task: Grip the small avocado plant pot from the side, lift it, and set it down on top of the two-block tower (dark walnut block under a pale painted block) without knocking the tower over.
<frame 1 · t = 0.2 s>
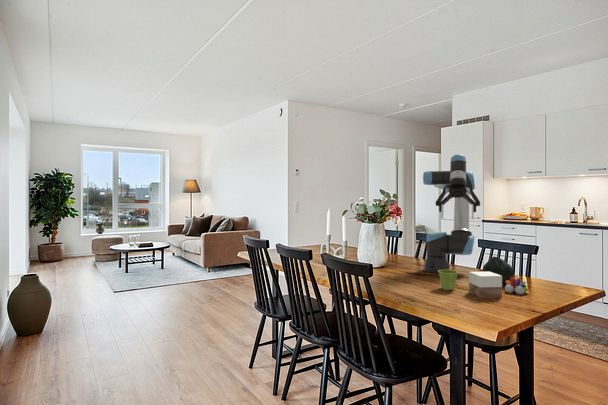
hand: (457, 217, 182), 35 cm above the table, tool tilted 35°, fingers open, 13 cm apart
pale top block: (485, 284, 175), point 5 cm above the table, touching walnut base block
rainbow petal cluster: (516, 293, 179), on the table
walnut base block: (485, 295, 175), on the table, touching pale top block
squash: (497, 284, 197), on the table
plant pot: (447, 289, 186), on the table
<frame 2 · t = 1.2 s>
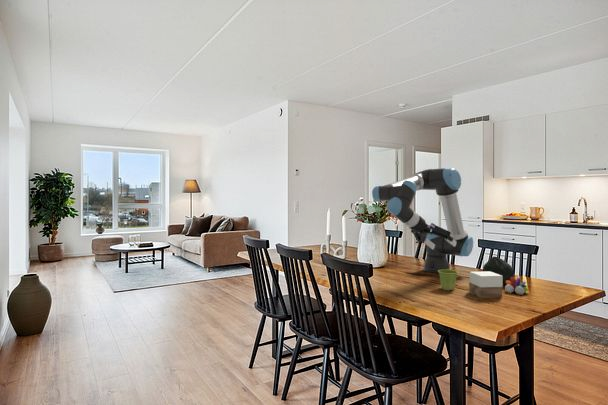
hand: (444, 245, 186), 21 cm above the table, tool tilted 55°, fingers open, 13 cm apart
pale top block: (485, 284, 174), point 5 cm above the table
walnut base block: (485, 295, 175), on the table
everything else where it was.
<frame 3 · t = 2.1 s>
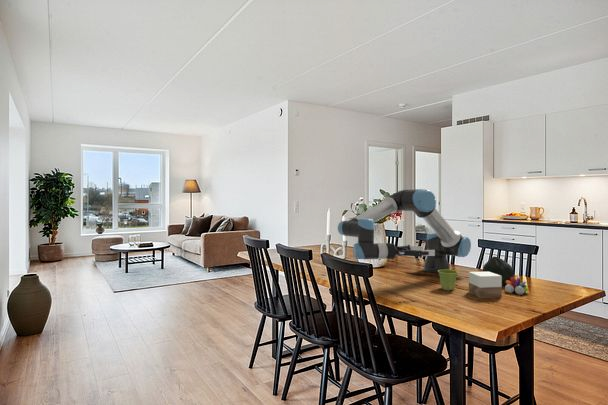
hand: (428, 250, 185), 19 cm above the table, tool horizontal, fingers open, 13 cm apart
pale top block: (484, 284, 175), point 5 cm above the table, touching walnut base block
walnut base block: (484, 295, 175), on the table, touching pale top block
everything else where it was.
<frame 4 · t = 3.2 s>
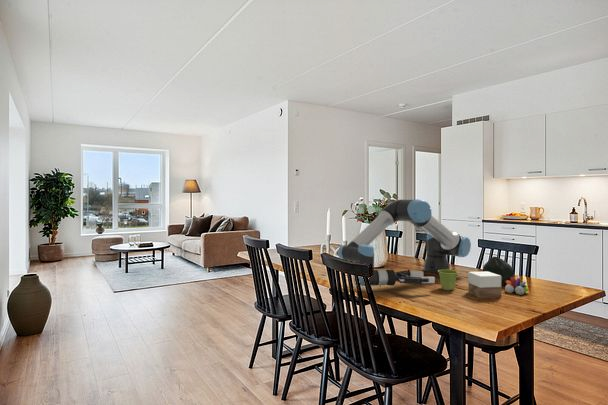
hand: (428, 276, 185), 6 cm above the table, tool horizontal, fingers open, 13 cm apart
nothing on the table moved.
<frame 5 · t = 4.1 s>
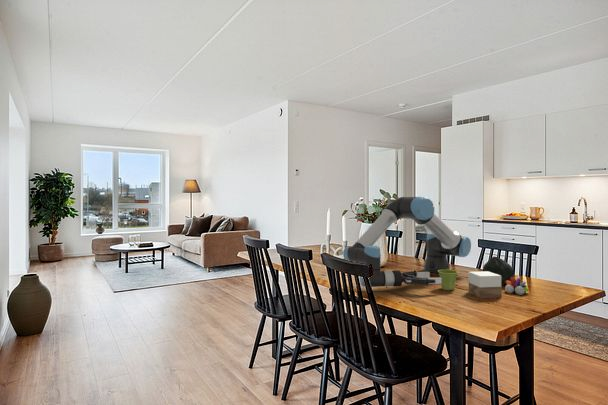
hand: (435, 277, 185), 6 cm above the table, tool horizontal, fingers open, 13 cm apart
nothing on the table moved.
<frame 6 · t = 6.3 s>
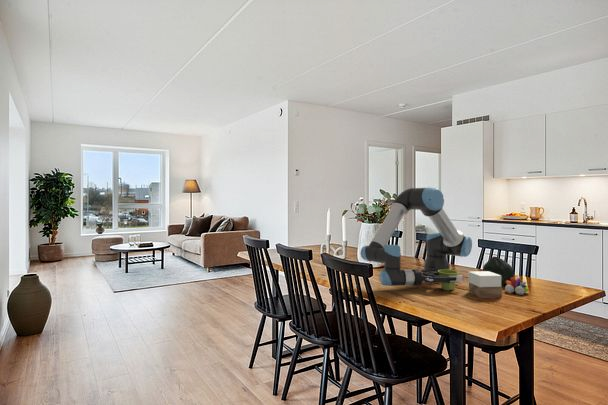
hand: (457, 276, 186), 6 cm above the table, tool horizontal, fingers closed on plant pot, 8 cm apart
plant pot: (447, 289, 186), on the table, touching gripper
everything else where it was.
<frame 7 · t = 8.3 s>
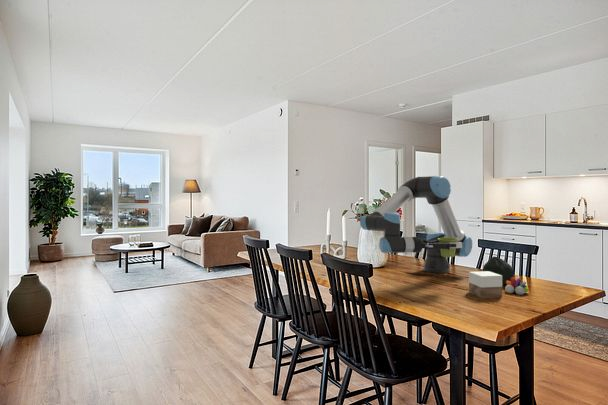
hand: (457, 243, 186), 22 cm above the table, tool horizontal, fingers closed on plant pot, 8 cm apart
plant pot: (447, 256, 185), point 16 cm above the table, touching gripper
when the fingers open (20 cm above the table, at t = 11.0 s): plant pot drops 2 cm, resting on pale top block.
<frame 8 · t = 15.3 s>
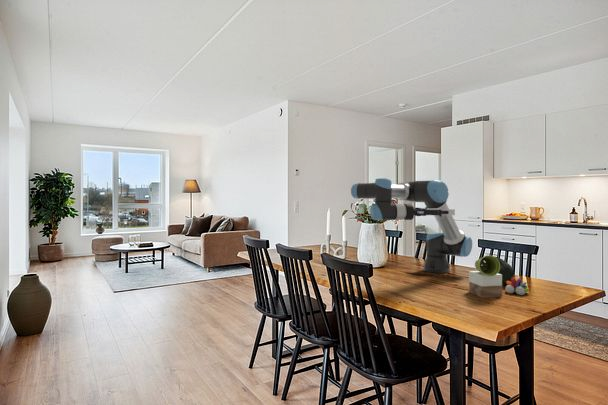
hand: (447, 211, 180), 38 cm above the table, tool horizontal, fingers open, 13 cm apart
pale top block: (485, 283, 177), point 5 cm above the table, touching plant pot, walnut base block
walnut base block: (485, 294, 176), on the table, touching pale top block
plant pot: (480, 265, 180), point 13 cm above the table, touching pale top block
at the end: plant pot inside the target area on the walnut base block (4.1 cm from its centre), point 12.9 cm above the walnut base block's base; pale top block tilted 0°; the gripper is holding nothing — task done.
